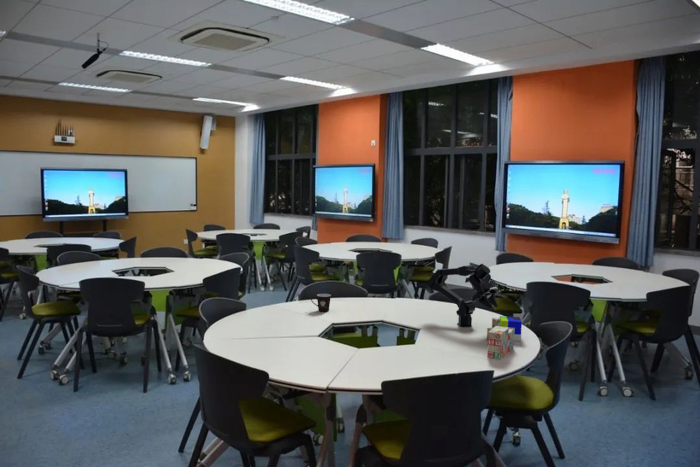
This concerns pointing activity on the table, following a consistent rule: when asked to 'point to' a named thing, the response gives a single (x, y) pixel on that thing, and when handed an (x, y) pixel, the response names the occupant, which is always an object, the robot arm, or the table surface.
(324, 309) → the coffee mug
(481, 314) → the table surface
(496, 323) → the numbered block 1
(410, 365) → the table surface
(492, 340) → the stack of blocks
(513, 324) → the puzzle toy
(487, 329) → the numbered block 2
